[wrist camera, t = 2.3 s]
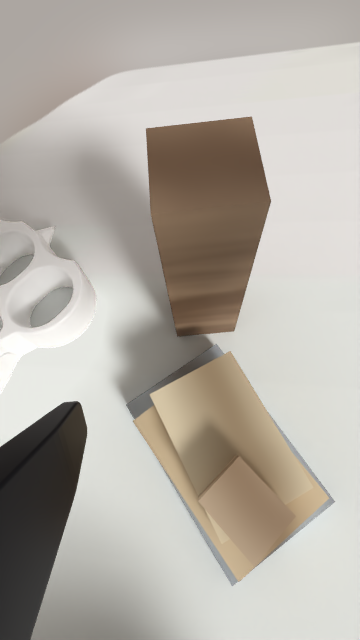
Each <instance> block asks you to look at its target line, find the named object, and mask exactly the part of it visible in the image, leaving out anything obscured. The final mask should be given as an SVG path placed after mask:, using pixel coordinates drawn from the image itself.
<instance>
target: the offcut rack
mask: <svg viewBox="0 0 360 640" xmlns="http://www.w3.org/2000/svg"><path fill="white" fill-rule="evenodd" d="M126 406H127V407H128V409H129V411H130V413H131V414H132V416H133V418H134V419H135V420H134V421H133V422H134V424H135V425H136V427H137V428H138V430H139V431H140V433H141V434H142V436H143V437H144V439H145V440H146V442H147V443H148V445H149V447H150V448H151V450H152V451H153V453H154V454H155V456H156V457H157V459H158V460H159V462H160V464H161V465H162V467H163V469H164V471H165V472H166V474H167V476H168V477H169V479H170V481H171V482H172V484H173V486H174V488H175V489H176V491H177V493H178V494H179V496H180V498H181V500H182V501H183V503H184V505H185V506H186V508H187V510H188V511H189V513H190V515H191V517H192V518H193V520H194V522H195V523H196V525H197V527H198V529H199V530H200V532H201V534H202V535H203V537H204V539H205V540H206V542H207V544H208V546H209V547H210V549H211V551H212V552H213V554H214V556H215V558H216V559H217V561H218V563H219V564H220V566H221V568H222V569H223V571H224V573H225V575H226V576H227V578H228V580H229V581H230V583H231V585H232V586H233V585H234V584H236V583H237V582H239V581H241V580H242V579H243V578H244V577H245V576H246V575H247V574H248V573H249V572H250V571H251V570H253V569H254V568H255V567H256V566H257V565H259V564H260V563H261V562H262V561H264V560H265V559H266V558H267V557H268V556H270V555H271V554H272V553H273V552H274V551H276V550H277V549H278V548H279V547H281V546H282V545H283V544H284V543H285V542H287V541H288V540H289V539H290V538H292V537H293V536H294V535H295V534H296V533H298V532H299V531H300V530H301V529H303V528H304V527H305V526H306V525H307V524H309V523H310V522H311V521H312V520H313V519H315V518H316V517H317V516H318V515H320V514H321V513H322V512H323V511H324V510H326V509H327V508H328V507H329V506H331V505H332V504H333V503H334V502H335V501H334V500H333V498H332V497H331V496H330V494H329V493H328V492H327V490H326V489H325V488H324V486H323V485H322V484H321V482H320V481H319V480H318V478H317V477H316V476H315V474H314V473H313V472H312V470H311V469H310V468H309V466H308V465H307V464H306V462H305V461H304V460H303V458H302V457H301V456H300V454H299V453H298V452H297V450H296V449H295V448H294V446H293V445H292V444H291V442H290V441H289V440H288V438H287V437H286V436H285V434H284V433H283V432H282V430H281V429H280V428H279V426H278V425H277V424H276V422H275V421H274V420H273V418H272V417H271V416H270V414H269V413H268V412H267V410H266V409H265V407H264V405H263V404H262V402H261V401H260V399H259V397H258V396H257V394H256V392H255V391H254V389H253V387H252V386H251V384H250V382H249V381H248V379H247V378H246V376H245V374H244V373H243V371H242V369H241V368H240V366H239V364H238V363H237V361H236V360H235V358H234V356H233V355H232V353H231V351H229V352H228V353H226V354H224V353H223V352H222V350H221V349H220V348H219V346H218V345H217V344H216V345H214V346H213V347H211V348H210V349H208V350H207V351H205V352H204V353H202V354H201V355H199V356H198V357H196V358H195V359H193V360H192V361H190V362H189V363H187V364H186V365H184V366H183V367H181V368H180V369H178V370H177V371H175V372H174V373H172V374H171V375H169V376H168V377H166V378H165V379H164V380H162V381H161V382H159V383H158V384H156V385H155V386H153V387H152V388H150V389H149V390H147V391H146V392H144V393H143V394H141V395H140V396H138V397H137V398H135V399H134V400H132V401H131V402H129V403H128V404H126Z"/></svg>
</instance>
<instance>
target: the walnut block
mask: <svg viewBox="0 0 360 640" xmlns="http://www.w3.org/2000/svg"><path fill="white" fill-rule="evenodd" d="M146 137H147V155H148V173H149V190H150V208H151V217H152V222H153V226H154V231H155V235H156V240H157V245H158V249H159V254H160V259H161V263H162V268H163V272H164V277H165V282H166V286H167V291H168V296H169V300H170V305H171V309H172V314H173V319H174V323H175V328H176V332H177V337H178V336H188V335H199V334H210V333H220V332H231V331H234V330H235V326H236V323H237V319H238V316H239V312H240V309H241V305H242V302H243V298H244V295H245V291H246V287H247V284H248V280H249V277H250V273H251V270H252V266H253V263H254V259H255V256H256V252H257V249H258V245H259V242H260V238H261V235H262V231H263V228H264V224H265V220H266V217H267V213H268V210H269V206H270V203H271V199H270V195H269V190H268V186H267V182H266V177H265V173H264V168H263V164H262V160H261V155H260V151H259V146H258V142H257V138H256V133H255V129H254V124H253V120H252V117H244V118H235V119H226V120H218V121H209V122H200V123H191V124H182V125H173V126H164V127H155V128H146Z"/></svg>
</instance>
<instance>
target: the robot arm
mask: <svg viewBox="0 0 360 640" xmlns="http://www.w3.org/2000/svg"><path fill="white" fill-rule="evenodd" d="M86 438H87V425H86V422H85V418H84V414H83V410H82V406H81V404H80V403H79V402H78V401H74V402H64V403H62V404H60V405H59V406H58V407H56V408H55V409H53V410H52V411H51V412H49V413H48V414H46V415H45V416H43V417H42V418H41V419H39V420H38V421H36V422H35V423H34V424H32V425H31V426H29V427H28V428H26V429H25V430H24V431H22V432H21V433H19V434H18V435H17V436H15V437H14V438H12V439H11V440H9V441H8V442H7V443H5V444H4V445H2V446H1V447H0V640H30V639H31V635H32V632H33V629H34V626H35V623H36V619H37V616H38V613H39V610H40V606H41V603H42V600H43V597H44V594H45V590H46V587H47V584H48V581H49V577H50V574H51V571H52V568H53V564H54V561H55V558H56V555H57V552H58V548H59V545H60V542H61V539H62V535H63V532H64V529H65V526H66V522H67V519H68V516H69V513H70V510H71V506H72V503H73V500H74V496H75V493H76V489H77V484H78V479H79V474H80V469H81V464H82V459H83V453H84V448H85V443H86Z"/></svg>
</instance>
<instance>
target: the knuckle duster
mask: <svg viewBox="0 0 360 640" xmlns="http://www.w3.org/2000/svg"><path fill="white" fill-rule="evenodd" d="M54 230H55V226H52V227H48V228H44V229H40V230H37V231H35V230H34V229H32V228H31V227H30V226H28V225H27V224H26V223H24V222H23V221H4V220H1V219H0V276H1V274H2V273H3V271H4V270H5V269H6V268H7V267H9V266H10V265H11V264H12V263H13V262H14V261H16V260H17V259H19V258H20V257H23V256H26V255H32V254H34V257H33V259H32V261H31V263H30V264H29V265H28V266H27V268H25V269H24V270H23V271H22V272H21V273H20V274H19V275H18V276H17V277H15V278H14V279H13V280H11V281H10V282H8V283H6V284H3V285H0V316H1V319H2V322H3V326H2V329H1V331H0V394H1V392H2V391H3V389H4V387H5V386H6V384H7V382H8V381H9V379H10V378H11V375H12V373H13V369H14V367H15V366H16V364H17V363H18V361H19V359H20V358H21V356H23V355H24V354H26V353H28V352H30V351H32V350H33V349H35V348H38V347H41V348H54V347H59V346H63V345H65V344H68V343H70V342H72V341H73V340H75V339H76V338H78V337H79V336H80V335H81V334H82V333H83V332H84V331H85V330H86V329H87V328H88V327H89V325H90V324H91V322H92V320H93V318H94V315H95V312H96V307H97V298H96V293H95V290H94V288H93V286H92V284H91V283H90V281H89V280H88V278H87V277H86V275H85V274H84V272H83V271H82V269H81V268H80V267H79V265H78V264H77V263H76V262H75V261H74V260H68V259H63V258H60V257H57V255H56V254H55V253H54V251H53V250H52V249H51V248H50V243H51V240H52V236H53V233H54ZM62 287H70V288H73V294H72V297H71V300H70V302H69V303H68V305H67V306H66V307H65V308H64V309H63V310H62V311H61V312H60V313H59V314H58V315H57V316H56V317H55V318H54V319H53V320H51V321H50V322H48V323H46V324H44V325H42V326H38V327H31V324H30V318H31V314H32V311H33V309H34V308H35V306H36V305H37V304H38V303H39V302H40V301H41V300H42V299H43V298H44V297H45V296H46V295H47V294H49V293H50V292H51V291H53V290H55V289H58V288H62Z"/></svg>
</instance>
